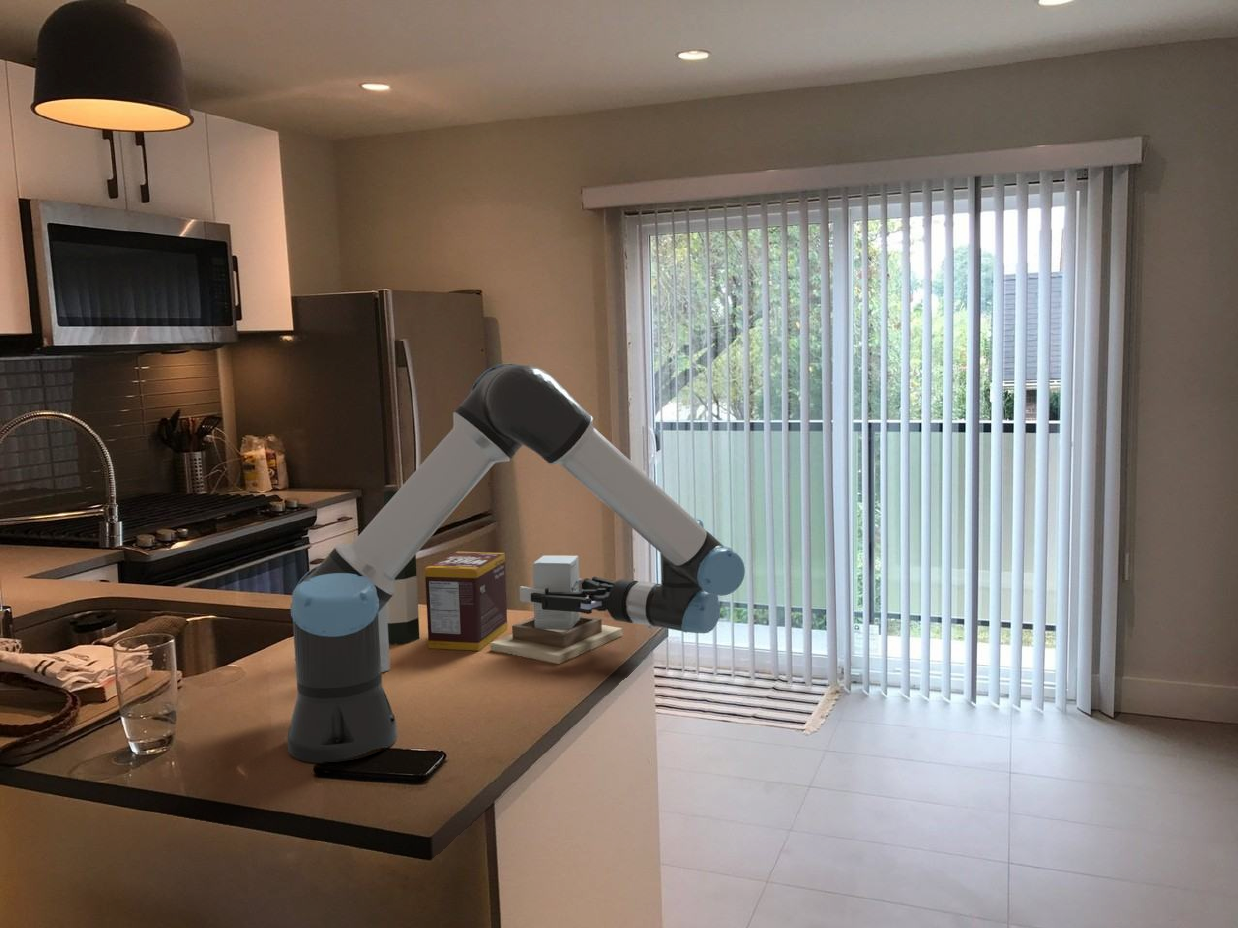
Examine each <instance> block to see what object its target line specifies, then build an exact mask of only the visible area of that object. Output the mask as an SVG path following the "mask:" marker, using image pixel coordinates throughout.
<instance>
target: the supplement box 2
mask: <svg viewBox="0 0 1238 928" xmlns="http://www.w3.org/2000/svg"><path fill="white" fill-rule="evenodd" d="M579 560H580V559H579V555H542V556H541V557H539V558H538V559H537V560H536V561H534V562H533V563H532V588H538V589H546V588H549V590H550V592H580V588H579V579H580V566H579V564H580V561H579ZM580 616H581V612H571V611H557V610H543V609H542V605H541V604H535V603H533V618H534V622H535V628H539V629H557V630H570V629H572V628H573V626H574V625H575V624H576V623H577V622H578V621H579V620H580Z"/></svg>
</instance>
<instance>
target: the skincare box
mask: <svg viewBox="0 0 1238 928" xmlns="http://www.w3.org/2000/svg"><path fill="white" fill-rule="evenodd" d="M378 620H379V639H380V657H381V673H384V672H387V671H390V670H391V666H390V665H391V662H390V648H389V646H390V644H389V642H388V624H387V605H386V604H385V605H384V606H383V608H382V609H381V610H380V611H379V612H378Z"/></svg>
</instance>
